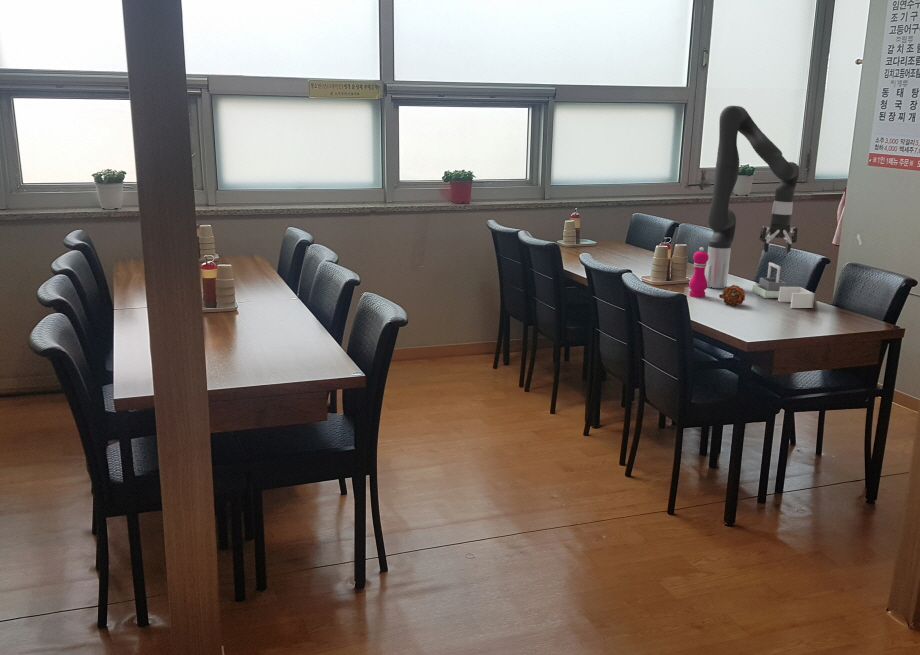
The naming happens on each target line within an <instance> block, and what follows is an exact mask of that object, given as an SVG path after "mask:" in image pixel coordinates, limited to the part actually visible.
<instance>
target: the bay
mask: <svg viewBox="0 0 920 655" xmlns="http://www.w3.org/2000/svg"><path fill="white" fill-rule="evenodd" d="M815 295H816V293H814V292H812V291H811V290H810V291H809V290H807V288H806V289H805V288H803V287H801V286H786V287H780V291H779V299H777V301H779V303H790V309H791V308H813V309H814V302H815Z"/></svg>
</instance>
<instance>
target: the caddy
mask: <svg viewBox="0 0 920 655" xmlns="http://www.w3.org/2000/svg"><path fill="white" fill-rule="evenodd" d="M772 268H775V269H777V270H776V277H771V275H772V274H771V273H772ZM781 268H782V267H781V266H780V265H778V264H776V263H774V262H768V269H767V277H759V283H758V285H759V287H760V288H762V289H764V290H766V291H780V287H787V282H785V281H783V280H782V279H780V274H781Z"/></svg>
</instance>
